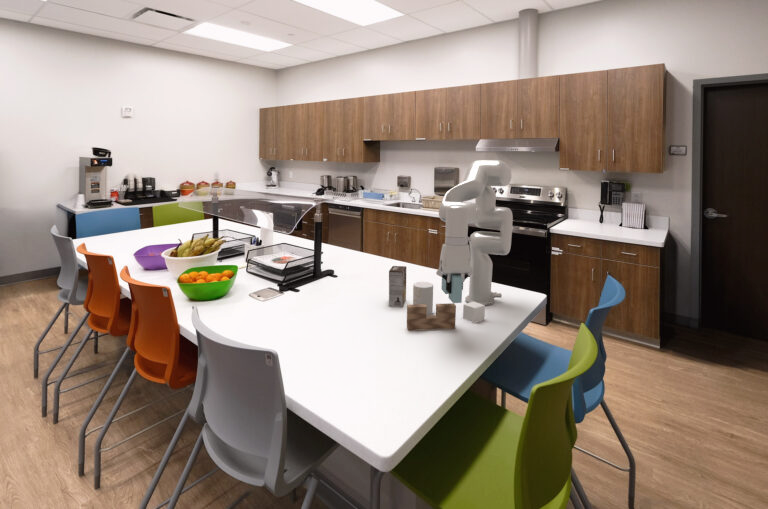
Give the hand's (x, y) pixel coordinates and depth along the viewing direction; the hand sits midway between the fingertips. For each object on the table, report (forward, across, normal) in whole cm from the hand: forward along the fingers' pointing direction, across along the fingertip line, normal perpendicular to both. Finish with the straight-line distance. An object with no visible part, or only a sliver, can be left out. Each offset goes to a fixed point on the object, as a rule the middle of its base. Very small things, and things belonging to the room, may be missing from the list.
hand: (454, 291), depth 156 cm
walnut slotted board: (+17, +6, -9) cm, 20 cm away
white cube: (+17, -13, -16) cm, 27 cm away
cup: (+17, +5, -26) cm, 32 cm away
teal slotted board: (+3, 0, -4) cm, 5 cm away
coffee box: (+17, +14, -38) cm, 44 cm away
